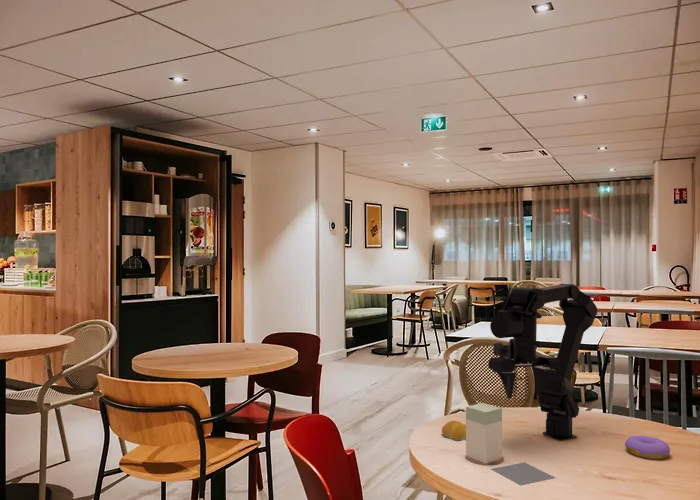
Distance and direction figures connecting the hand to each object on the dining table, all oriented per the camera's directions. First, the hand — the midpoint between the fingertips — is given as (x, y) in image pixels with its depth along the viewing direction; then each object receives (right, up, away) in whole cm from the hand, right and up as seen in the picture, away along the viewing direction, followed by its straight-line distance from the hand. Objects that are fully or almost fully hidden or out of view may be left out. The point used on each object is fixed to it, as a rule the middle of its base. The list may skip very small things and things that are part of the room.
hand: (523, 396), depth 143 cm
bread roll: (-15, -14, +9) cm, 22 cm away
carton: (-12, -12, -9) cm, 20 cm away
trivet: (-12, -13, -9) cm, 20 cm away
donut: (+29, -13, -4) cm, 33 cm away
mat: (-6, -13, -18) cm, 23 cm away
